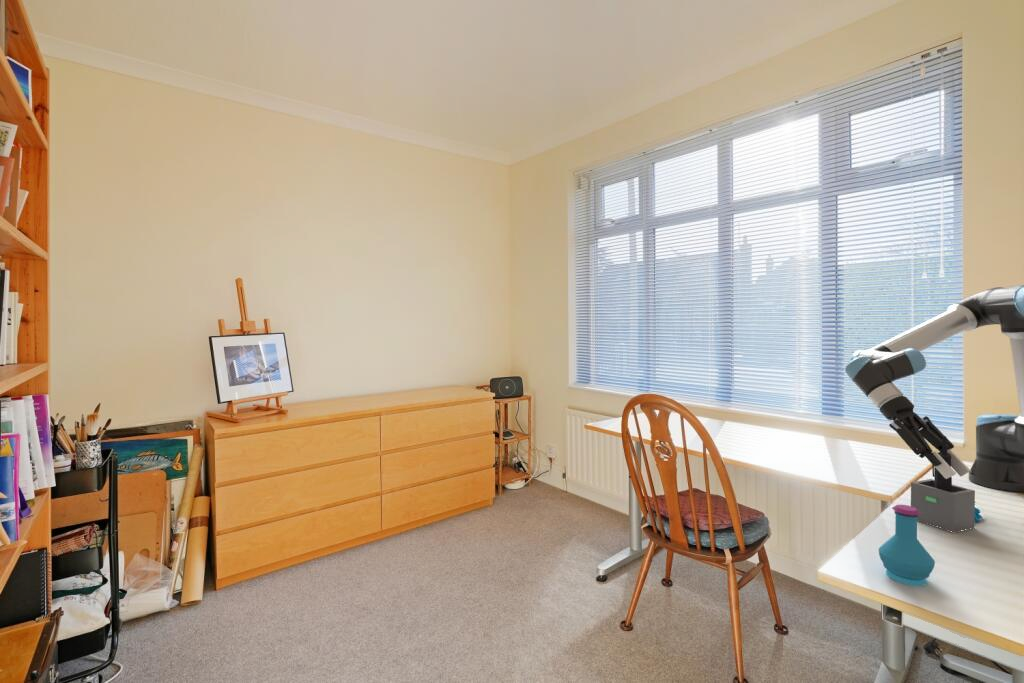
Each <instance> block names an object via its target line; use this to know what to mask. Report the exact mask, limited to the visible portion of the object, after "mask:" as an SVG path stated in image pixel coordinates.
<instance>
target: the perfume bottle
mask: <svg viewBox="0 0 1024 683" xmlns="http://www.w3.org/2000/svg"><path fill="white" fill-rule="evenodd" d="M892 510H893V511H894V514H895V520H894V521H895V522H894V523H895V524H894V525H895V526H894V527H895V528H894V530H895V534H894V535H892V536H891V537H890V538H889V539H888V540H886V541H885V542H884V543H883V544H881V546H879V548H878V555H879V558H880V560H881V561H882V565H883V567H884V569H885V574H886V576H888V577H889V578H890V579H892V580H894V581H897V582H899V583H902V584H903V585H904V584H905V585H910V586H917V587H918V586H919V587H920V586H924V585H926V584H927V579H928V578H930V575H931V574H932V573H933V570H934V568H935V564H936V561H935V559H934V558H933V557H932V556H931V554H930V553H929V552H928V551H927V549H926V548H925V546H924V545H923V544H922V543H921V541H920V540H919V539H918V521H917V518H918V515H919V514H921V513H920V512H919V511H918V510H917V509H916V508H914V507H912V506H911V505H907V504H896V505H895V506H893V507H892Z"/></svg>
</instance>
